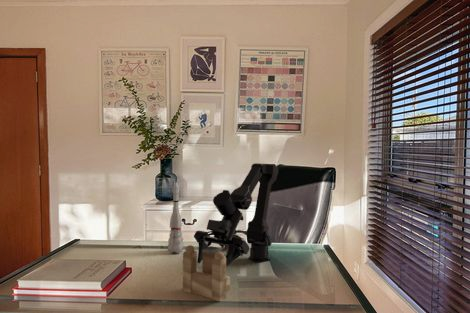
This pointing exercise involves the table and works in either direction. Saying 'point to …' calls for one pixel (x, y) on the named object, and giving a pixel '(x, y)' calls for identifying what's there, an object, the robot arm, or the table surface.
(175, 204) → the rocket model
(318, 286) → the table surface
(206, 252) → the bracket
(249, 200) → the robot arm
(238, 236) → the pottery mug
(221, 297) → the wooden block tower
